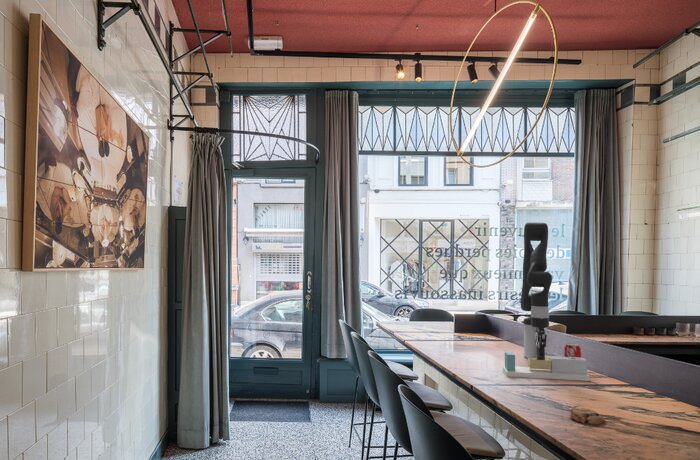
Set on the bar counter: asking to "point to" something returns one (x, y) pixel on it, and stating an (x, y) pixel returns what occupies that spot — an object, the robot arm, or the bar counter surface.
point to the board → (544, 374)
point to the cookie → (586, 416)
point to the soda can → (572, 350)
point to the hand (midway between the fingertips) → (540, 355)
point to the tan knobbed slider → (539, 361)
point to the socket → (509, 361)
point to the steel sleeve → (568, 365)
